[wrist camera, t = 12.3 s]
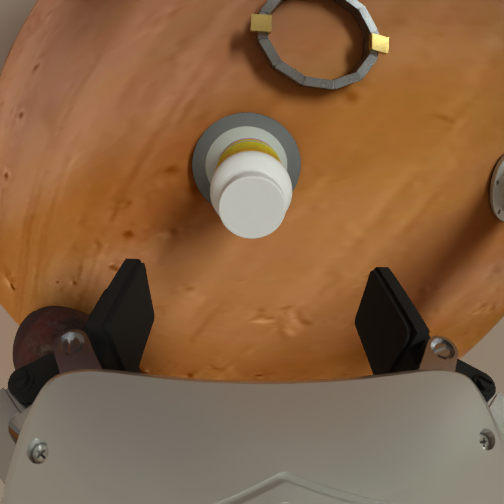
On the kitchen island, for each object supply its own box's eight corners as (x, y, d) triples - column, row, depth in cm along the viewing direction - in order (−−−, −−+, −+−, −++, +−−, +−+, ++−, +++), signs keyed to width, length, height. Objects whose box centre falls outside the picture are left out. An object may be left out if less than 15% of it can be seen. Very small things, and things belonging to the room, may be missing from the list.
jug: (173, 333, 45) (145, 479, 23) (130, 392, 55) (107, 491, 33) (43, 258, 37) (-44, 374, 15) (34, 340, 47) (-11, 429, 25)
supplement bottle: (210, 147, 30) (189, 179, 19) (269, 129, 29) (285, 147, 18) (230, 202, 33) (223, 261, 22) (286, 185, 32) (309, 236, 21)
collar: (377, 4, 21) (388, -2, 19) (374, 98, 28) (385, 99, 25) (253, -18, 21) (254, -28, 18) (247, 82, 27) (247, 80, 24)
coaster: (303, 116, 29) (305, 117, 28) (293, 214, 35) (295, 218, 34) (193, 112, 29) (192, 112, 28) (194, 211, 34) (193, 215, 34)
